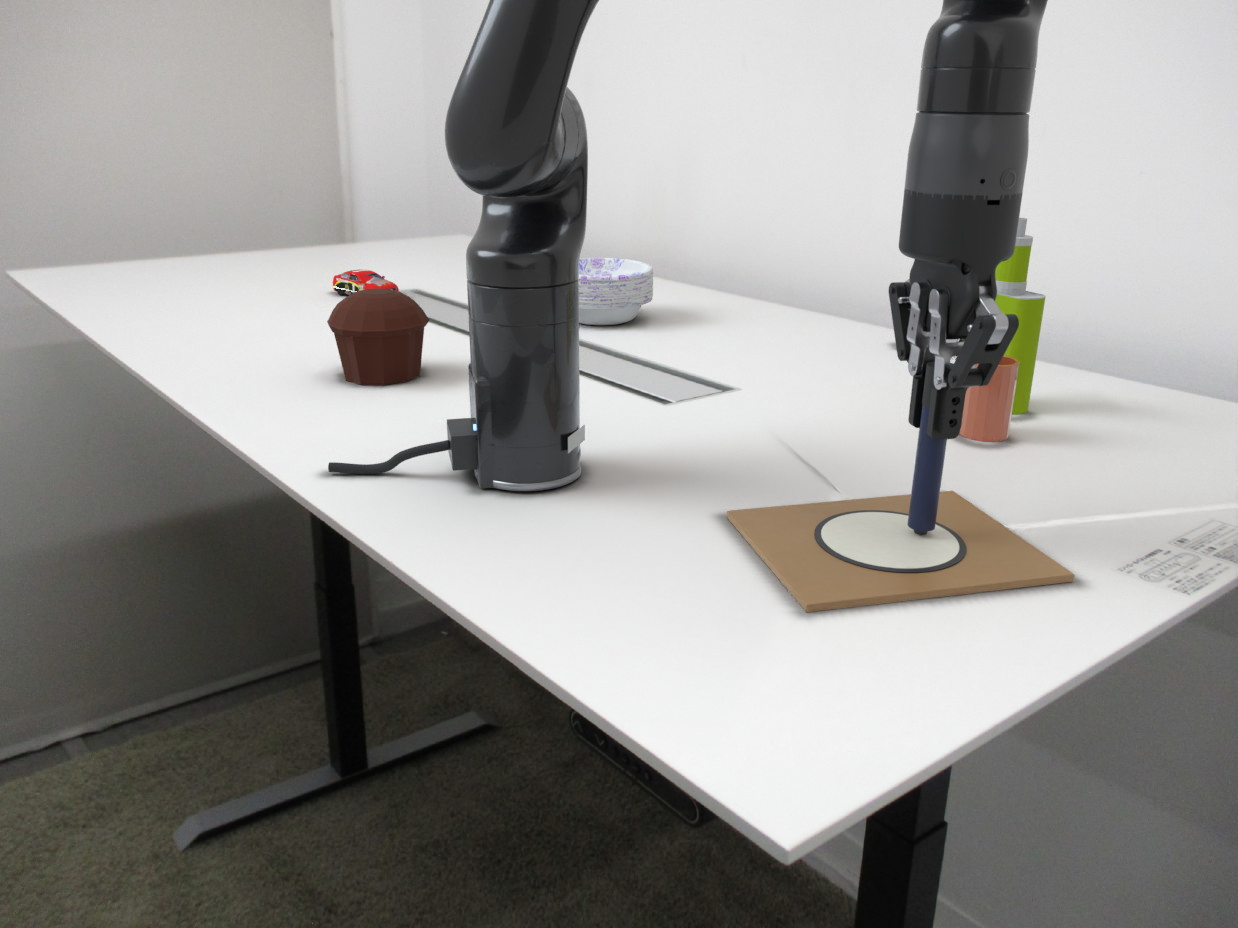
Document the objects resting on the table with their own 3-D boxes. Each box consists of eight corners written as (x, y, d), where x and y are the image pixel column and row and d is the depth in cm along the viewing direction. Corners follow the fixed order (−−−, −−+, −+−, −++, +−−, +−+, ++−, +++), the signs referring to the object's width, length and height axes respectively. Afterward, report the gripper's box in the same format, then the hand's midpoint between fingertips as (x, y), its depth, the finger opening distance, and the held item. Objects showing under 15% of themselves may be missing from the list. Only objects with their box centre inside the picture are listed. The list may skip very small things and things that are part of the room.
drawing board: (806, 612, 66) (807, 602, 66) (726, 517, 80) (726, 508, 80) (1073, 581, 70) (1075, 572, 70) (951, 496, 85) (952, 488, 85)
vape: (990, 400, 111) (1016, 215, 104) (1033, 415, 106) (1064, 222, 99) (965, 405, 110) (990, 217, 103) (1008, 420, 105) (1037, 223, 98)
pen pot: (974, 447, 96) (985, 367, 94) (948, 432, 101) (958, 355, 98) (1016, 444, 97) (1029, 364, 95) (989, 429, 102) (1000, 352, 99)
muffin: (312, 382, 116) (303, 296, 113) (366, 359, 126) (359, 279, 123) (401, 392, 113) (395, 304, 109) (450, 368, 122) (445, 286, 119)
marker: (914, 539, 75) (936, 369, 70) (900, 527, 77) (921, 361, 72) (940, 536, 75) (963, 367, 71) (925, 525, 77) (947, 360, 73)
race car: (405, 299, 163) (404, 274, 161) (378, 304, 159) (376, 278, 157) (356, 288, 171) (354, 264, 169) (328, 293, 167) (326, 268, 165)
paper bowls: (594, 336, 139) (594, 278, 136) (529, 317, 150) (527, 264, 147) (674, 320, 149) (675, 266, 146) (606, 304, 159) (606, 254, 156)
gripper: (864, 177, 72) (843, 407, 79) (969, 196, 60) (935, 468, 66) (958, 176, 74) (931, 401, 80) (1079, 194, 61) (1036, 460, 68)
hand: (933, 430), depth 73 cm, fingers closed on marker, 2 cm apart
